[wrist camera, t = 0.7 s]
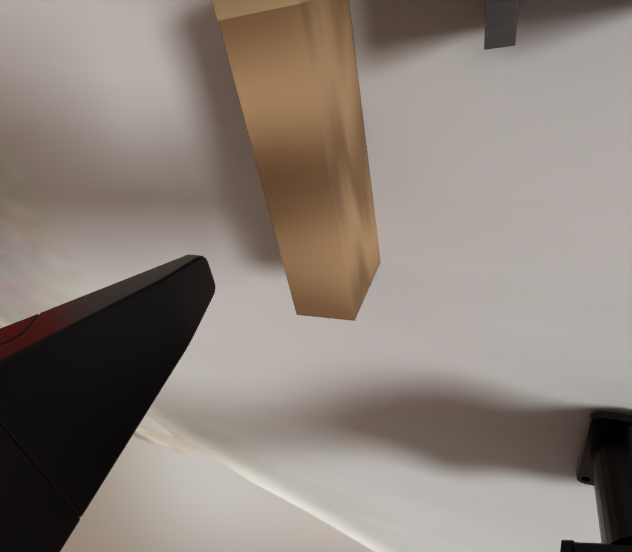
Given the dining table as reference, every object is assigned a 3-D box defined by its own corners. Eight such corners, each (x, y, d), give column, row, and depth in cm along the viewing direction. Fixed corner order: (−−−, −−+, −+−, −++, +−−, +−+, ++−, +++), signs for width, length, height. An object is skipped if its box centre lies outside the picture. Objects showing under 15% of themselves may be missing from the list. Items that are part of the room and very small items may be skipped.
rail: (380, 261, 24) (354, 320, 20) (329, 259, 25) (296, 315, 22) (343, -48, 17) (291, -44, 13) (272, -31, 18) (205, -22, 14)
